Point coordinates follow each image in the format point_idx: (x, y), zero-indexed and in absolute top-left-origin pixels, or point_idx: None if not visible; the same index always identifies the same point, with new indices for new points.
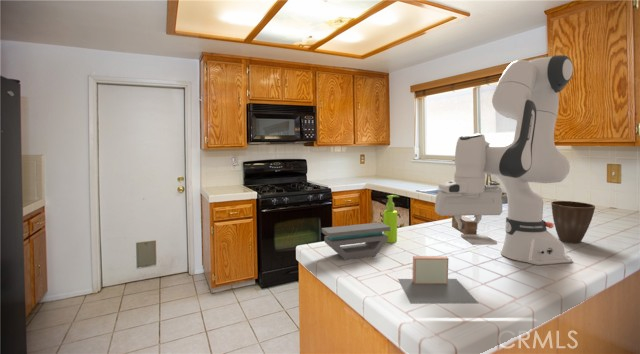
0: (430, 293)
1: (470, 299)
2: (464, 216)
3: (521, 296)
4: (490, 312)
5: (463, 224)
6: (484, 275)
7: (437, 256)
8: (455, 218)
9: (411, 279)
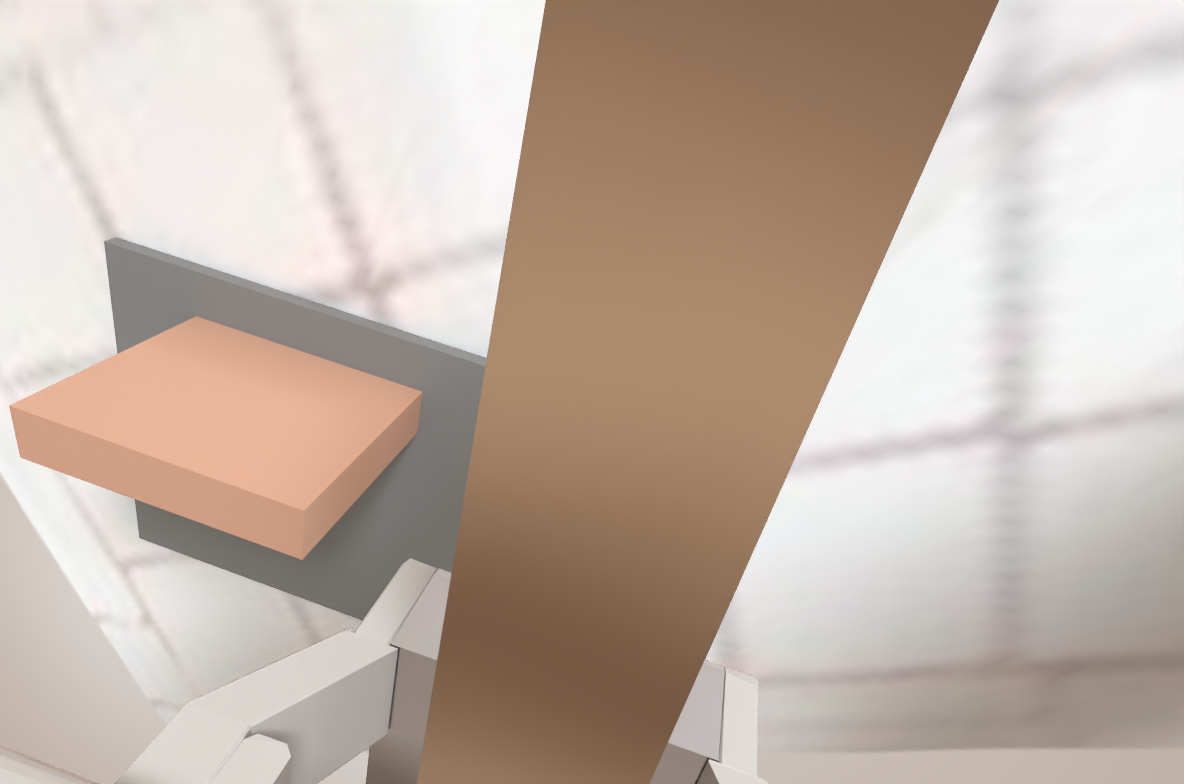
0: None
1: None
2: (766, 497)
3: (784, 679)
4: None
5: (420, 730)
6: (845, 367)
7: (222, 491)
8: (213, 714)
9: (196, 282)
